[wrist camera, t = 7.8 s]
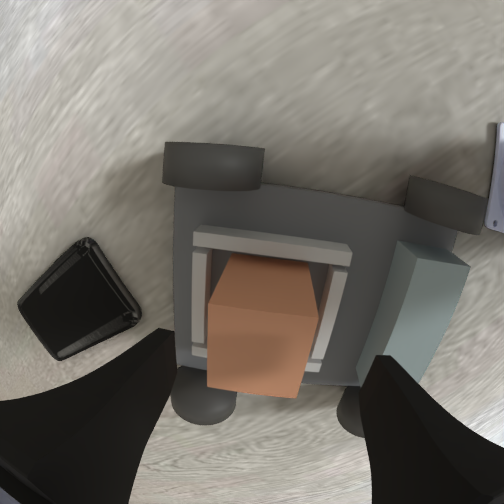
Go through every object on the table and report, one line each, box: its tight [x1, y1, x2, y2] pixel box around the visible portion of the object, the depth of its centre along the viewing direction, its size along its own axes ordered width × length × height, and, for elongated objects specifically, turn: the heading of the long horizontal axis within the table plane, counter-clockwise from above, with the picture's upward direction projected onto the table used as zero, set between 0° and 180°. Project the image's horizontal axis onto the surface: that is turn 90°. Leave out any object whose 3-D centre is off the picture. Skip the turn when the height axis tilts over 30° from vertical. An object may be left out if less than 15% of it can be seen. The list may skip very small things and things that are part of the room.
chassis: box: [162, 142, 488, 438], centre depth 16 cm, size 18×18×5 cm
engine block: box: [207, 253, 319, 398], centre depth 15 cm, size 4×5×6 cm
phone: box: [17, 237, 142, 361], centre depth 21 cm, size 8×1×15 cm
